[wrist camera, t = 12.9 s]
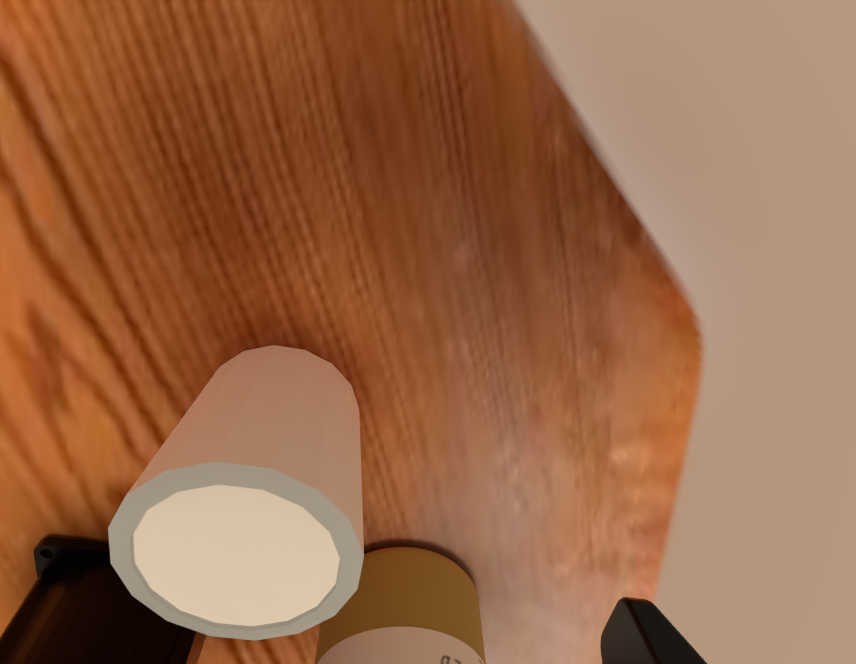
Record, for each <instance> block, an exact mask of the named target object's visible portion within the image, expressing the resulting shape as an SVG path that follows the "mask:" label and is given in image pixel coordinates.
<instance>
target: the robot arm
mask: <svg viewBox="0 0 856 664" xmlns="http://www.w3.org/2000/svg"><path fill="white" fill-rule="evenodd" d="M34 557H35V563H36V570H37V577H38V579H37V580H36V582H35V584H34V585H33V587H32V588H31V590H30V591H29V593H28V595H27V596H26V598H25V599H24V601H23V602H22V604H21V606H20V607H19V609H18V610H17V612H16V613H15V615H14V617H13V618H12V620H11V621H10V623H9V624H8V626H7V627H6V629H5V631H4V632H3V634H2V635H1V637H0V664H197V662H198V659H199V656H200V653H201V650H202V646H203V643H204V640H205V637H206V635H205V634H202V633H200V632H197V631H194V630H191V629H188V628H186V627H183V626H180V625H177V624H174V623H172V622H169V621H166V620H165V619H164V618H162V617H161V616H159V615H158V614H157V613H155V612H154V611H153V610H151V609H150V608H148V607H147V606H146V605H144V604H143V603H141V602H140V601H139V600H137V599H136V598H134V597H133V596H132V595H131V594H130V592H129V590H128V589H127V587H126V586H125V584H124V583H123V581H122V580H121V578H120V577H119V575H118V574H117V572H116V571H115V569H114V568H113V566H112V565H111V561H110V548H109V544H105V543H96V542H87V541H78V540H69V539H60V538H51V537H50V538H43V539H41V541H40V542H39V543H38V545H37V546H36V547H35V549H34ZM601 656H602V663H603V664H707V663H706V662H705V661H704V659H703V658H702V657H701V656H700V655H699V654H698V653H697V652H696V650H695V649H694V648H693V647H692V646H691V645H690V644H689V643H688V642H687V640H686V639H685V638H684V637H683V636H682V635H681V634H680V633H679V632H678V631H677V629H676V628H675V627H674V626H673V625H672V624H671V623H670V621H669V620H668V619H667V618H666V617H665V616H664V615H663V614H662V613H661V611H660V610H659V609H658V608H657V607H656V606H655V605H654V604H653V603H652V602H650V601H648V600H645V599H638V598H629V597H623V598H622V599H620V600H619V601H618V602H617V604H616V606H615V608H614V610H613V612H612V614H611V616H610V618H609V620H608V622H607V624H606V626H605V628H604V630H603V633H602V636H601Z"/></svg>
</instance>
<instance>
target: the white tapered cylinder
mask: <svg viewBox="0 0 856 664" xmlns="http://www.w3.org/2000/svg"><path fill="white" fill-rule="evenodd" d="M108 535H109V548H110V561H111V565H112V566H113V568H114V569H115V571H116V572H117V574H118V575H119V577H120V578H121V580H122V581H123V583H124V584H125V586H126V587H127V589H128V590H129V592H130V594H131V595H132V596H133V597H134V598H136V599H137V600H139V601H140V602H141V603H143V604H144V605H146V606H147V607H148V608H150V609H151V610H153V611H154V612H155V613H157V614H158V615H159V616H161V617H162V618H164V619H165V620H166V621H169V622H172V623H174V624H177V625H180V626H183V627H186V628H188V629H191V630H194V631H197V632H200V633H202V634H205V635H208V636H213V637H224V638H235V639H245V640H262V639H268V638H274V637H281V636H287V635H293V634H299V633H301V632H303V631H305V630H307V629H309V628H311V627H313V626H315V625H317V624H319V623H321V622H323V621H325V620H327V619H329V618H331V617H333V616H335V615H336V614H337V612H338V611H339V610H340V609H341V608H342V607H343V605H344V604H345V603H346V602H347V601H348V600H349V599H350V597H351V596H352V595H353V594H354V593H355V592H356V590H357V589H358V584H359V579H360V574H361V569H362V564H363V559H364V539H363V508H362V477H361V445H360V414H359V407H358V404H357V400H356V397H355V394H354V391H353V388H352V385H351V384H350V383H349V382H348V381H347V380H346V378H345V377H344V376H343V375H342V374H341V373H340V372H339V371H338V369H337V368H336V367H335V366H334V365H333V364H332V363H330V362H328V361H326V360H324V359H322V358H320V357H318V356H316V355H314V354H312V353H310V352H308V351H307V350H304V349H297V348H290V347H283V346H277V345H271V346H266V347H261V348H256V349H251V350H246V351H242V352H241V353H239V354H238V355H236V356H235V357H233V358H232V359H230V360H229V361H227V362H226V363H224V364H223V365H221V366H220V367H219V368H218V370H217V371H216V372H215V374H214V375H213V376H212V378H211V379H210V381H209V382H208V383H207V385H206V386H205V387H204V389H203V390H202V392H201V393H200V394H199V396H198V397H197V398H196V400H195V401H194V403H193V404H192V405H191V407H190V408H189V409H188V411H187V412H186V414H185V415H184V416H183V418H182V419H181V420H180V422H179V423H178V425H177V426H176V427H175V429H174V430H173V431H172V433H171V434H170V436H169V437H168V438H167V440H166V441H165V442H164V444H163V445H162V447H161V448H160V449H159V451H158V452H157V453H156V455H155V456H154V458H153V459H152V460H151V462H150V463H149V464H148V466H147V467H146V468H145V470H144V471H143V473H142V474H141V475H140V477H139V478H138V479H137V481H136V482H135V484H134V485H133V486H132V488H131V489H130V490H129V492H128V493H127V495H126V496H125V498H124V500H123V502H122V503H121V505H120V507H119V509H118V511H117V512H116V514H115V516H114V518H113V520H112V521H111V523H110V525H109V527H108Z"/></svg>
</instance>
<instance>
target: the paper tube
mask: <svg viewBox="0 0 856 664" xmlns="http://www.w3.org/2000/svg"><path fill="white" fill-rule="evenodd" d="M315 664H486V663H485V654H484V645H483V636H482V628H481V619H480V610H479V601H478V596H477V592H476V589H475V586H474V584H473V582H472V581H471V579H470V577H469V576H468V575H467V574H466V573H465V572H464V571H463V570H462V569H461V568H460V567H459V566H458V565H457V564H456V563H454V562H453V561H452V560H450V559H448V558H447V557H445V556H443V555H441V554H438V553H436V552H433V551H429V550H426V549H421V548H414V547H390V548H384V549H379V550H375V551H372V552H369V553H366V554H364V559H363V564H362V569H361V574H360V579H359V584H358V589H357V590H356V592H355V593H354V594H353V595H352V596H351V597H350V599H349V600H348V601H347V602H346V603H345V604H344V605H343V607H342V608H341V609H340V610H339V611H338V612H337V614H336V615H335V616H333V617H331V618H329V619H327V620H325V621H323V622H321V625H320V633H319V640H318V647H317V654H316V661H315Z"/></svg>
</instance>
